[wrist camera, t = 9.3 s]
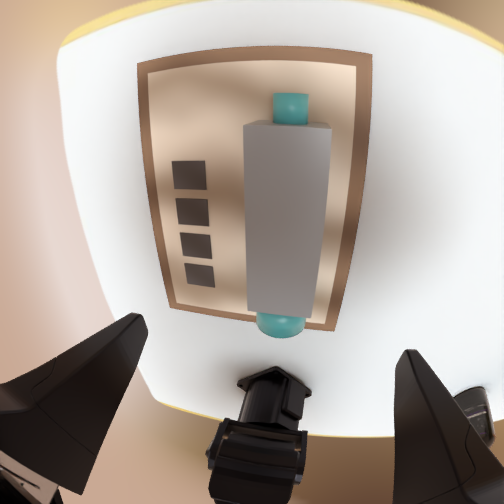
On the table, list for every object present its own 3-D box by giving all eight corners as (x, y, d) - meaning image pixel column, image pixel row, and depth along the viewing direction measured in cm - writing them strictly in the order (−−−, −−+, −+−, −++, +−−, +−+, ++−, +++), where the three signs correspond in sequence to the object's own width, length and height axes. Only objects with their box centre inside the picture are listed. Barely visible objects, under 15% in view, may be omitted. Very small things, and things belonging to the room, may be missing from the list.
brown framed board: (334, 325, 23) (334, 333, 22) (173, 302, 26) (168, 309, 25) (369, 56, 12) (373, 53, 11) (143, 63, 15) (134, 63, 14)
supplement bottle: (479, 380, 24) (496, 456, 14) (488, 393, 25) (502, 460, 15) (437, 404, 27) (446, 479, 17) (451, 414, 28) (459, 480, 18)
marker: (309, 305, 21) (306, 343, 18) (259, 299, 22) (248, 336, 19) (328, 97, 14) (333, 95, 10) (259, 94, 14) (242, 91, 11)
